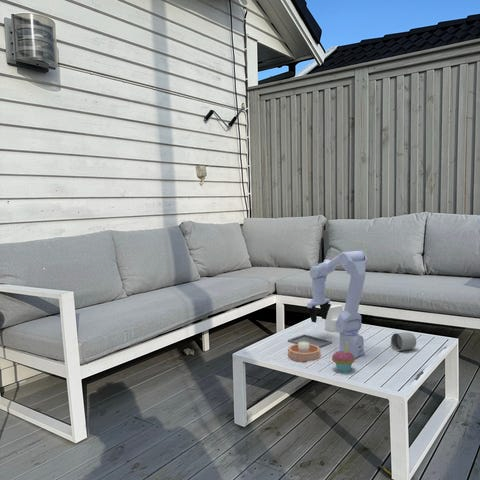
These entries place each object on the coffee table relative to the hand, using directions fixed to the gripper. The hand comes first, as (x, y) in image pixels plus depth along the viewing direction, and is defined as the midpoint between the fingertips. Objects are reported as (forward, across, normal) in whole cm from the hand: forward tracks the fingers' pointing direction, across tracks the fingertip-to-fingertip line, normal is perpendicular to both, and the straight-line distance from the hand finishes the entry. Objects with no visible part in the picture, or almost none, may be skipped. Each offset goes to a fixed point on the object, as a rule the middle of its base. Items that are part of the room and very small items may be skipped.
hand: (319, 320), depth 209 cm
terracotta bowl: (+9, +22, +9) cm, 26 cm away
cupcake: (+10, +23, +29) cm, 38 cm away
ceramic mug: (+10, -15, +33) cm, 37 cm away
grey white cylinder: (+10, -19, -5) cm, 22 cm away
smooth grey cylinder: (+9, +22, +9) cm, 25 cm away
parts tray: (+9, +7, 0) cm, 12 cm away
